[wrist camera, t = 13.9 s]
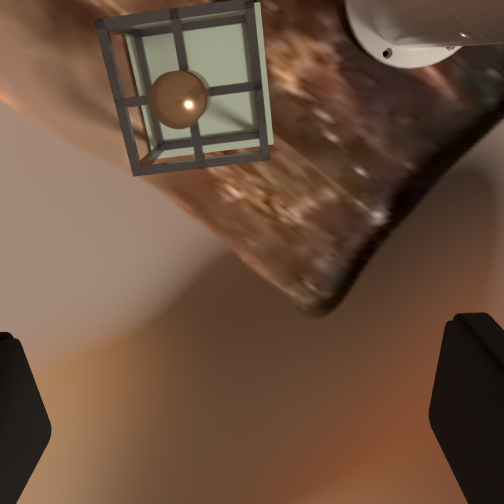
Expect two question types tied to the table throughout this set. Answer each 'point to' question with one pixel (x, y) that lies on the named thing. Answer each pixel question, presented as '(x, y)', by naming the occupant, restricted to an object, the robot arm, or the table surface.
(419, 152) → the table surface
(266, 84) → the mat
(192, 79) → the dark grey metal frame
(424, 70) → the table surface
